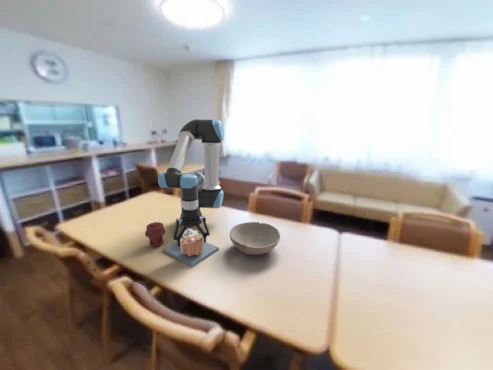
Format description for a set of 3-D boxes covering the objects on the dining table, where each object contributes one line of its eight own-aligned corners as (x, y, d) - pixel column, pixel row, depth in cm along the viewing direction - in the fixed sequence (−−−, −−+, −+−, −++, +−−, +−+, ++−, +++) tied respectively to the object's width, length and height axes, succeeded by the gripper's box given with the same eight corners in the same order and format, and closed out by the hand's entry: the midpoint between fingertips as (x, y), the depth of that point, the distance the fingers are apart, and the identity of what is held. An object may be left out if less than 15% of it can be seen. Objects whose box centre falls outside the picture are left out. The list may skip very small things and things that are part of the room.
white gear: (187, 236, 133) (187, 227, 131) (202, 240, 129) (201, 231, 127) (176, 244, 124) (175, 235, 123) (191, 249, 120) (190, 239, 119)
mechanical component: (170, 241, 131) (160, 250, 121) (153, 238, 133) (142, 248, 123) (168, 220, 127) (158, 229, 118) (151, 218, 129) (140, 226, 120)
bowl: (285, 243, 131) (286, 227, 128) (269, 270, 108) (270, 251, 105) (243, 233, 141) (243, 217, 138) (219, 256, 118) (219, 238, 115)
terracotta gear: (181, 246, 119) (181, 237, 118) (201, 243, 122) (200, 234, 121) (183, 257, 110) (182, 246, 109) (203, 254, 113) (203, 243, 112)
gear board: (189, 237, 135) (188, 222, 133) (218, 250, 123) (218, 233, 121) (162, 251, 121) (161, 234, 118) (192, 267, 109) (191, 249, 106)
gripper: (165, 213, 103) (168, 257, 110) (215, 208, 110) (216, 250, 116) (165, 206, 110) (168, 249, 116) (212, 202, 117) (213, 242, 123)
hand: (192, 249), depth 116 cm, fingers closed on terracotta gear, 10 cm apart
